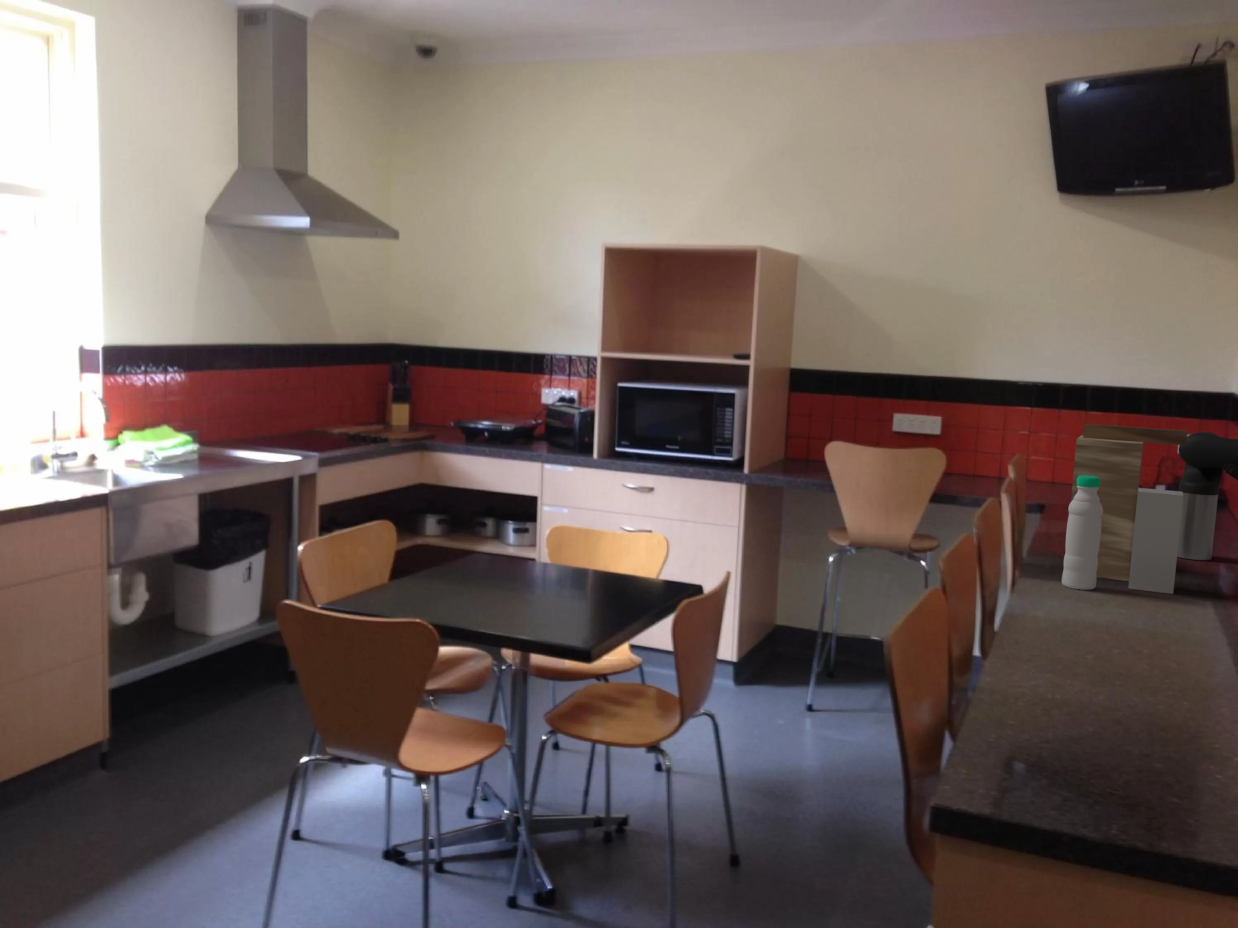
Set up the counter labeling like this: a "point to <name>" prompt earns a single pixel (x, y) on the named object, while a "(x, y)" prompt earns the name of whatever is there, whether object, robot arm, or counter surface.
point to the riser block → (1155, 540)
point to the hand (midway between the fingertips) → (1226, 466)
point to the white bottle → (1083, 536)
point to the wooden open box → (1112, 498)
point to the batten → (1135, 434)
